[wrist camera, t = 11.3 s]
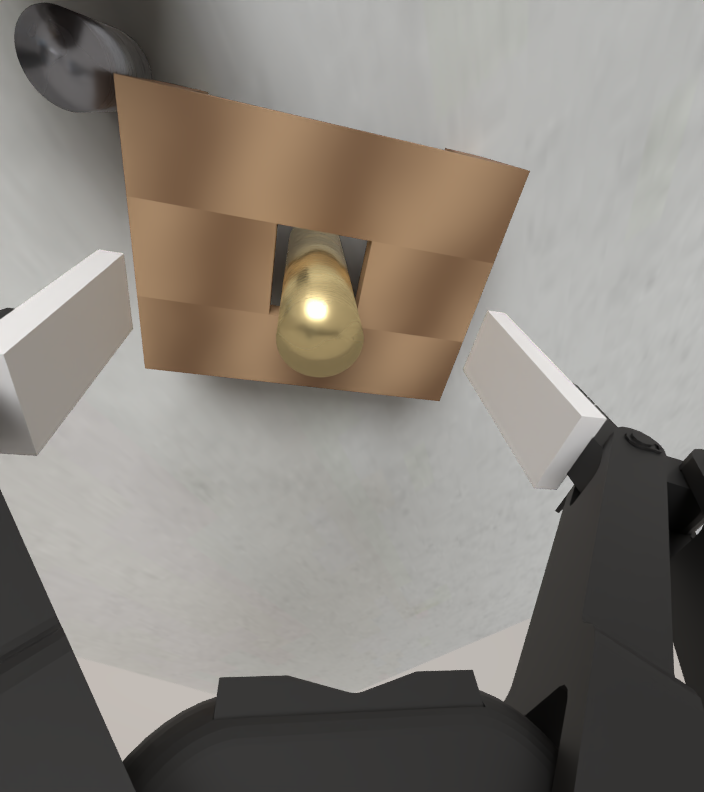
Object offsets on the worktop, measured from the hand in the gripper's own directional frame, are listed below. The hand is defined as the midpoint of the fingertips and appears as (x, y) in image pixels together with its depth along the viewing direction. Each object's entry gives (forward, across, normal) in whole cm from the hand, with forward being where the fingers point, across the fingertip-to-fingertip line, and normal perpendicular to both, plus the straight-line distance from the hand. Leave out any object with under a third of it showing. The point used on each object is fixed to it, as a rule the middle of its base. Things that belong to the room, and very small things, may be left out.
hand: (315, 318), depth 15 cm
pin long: (+10, 0, 0) cm, 11 cm away
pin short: (+11, -10, +6) cm, 16 cm away
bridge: (+10, 0, 0) cm, 10 cm away
